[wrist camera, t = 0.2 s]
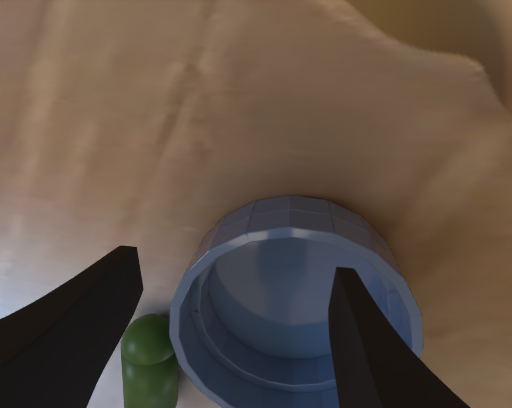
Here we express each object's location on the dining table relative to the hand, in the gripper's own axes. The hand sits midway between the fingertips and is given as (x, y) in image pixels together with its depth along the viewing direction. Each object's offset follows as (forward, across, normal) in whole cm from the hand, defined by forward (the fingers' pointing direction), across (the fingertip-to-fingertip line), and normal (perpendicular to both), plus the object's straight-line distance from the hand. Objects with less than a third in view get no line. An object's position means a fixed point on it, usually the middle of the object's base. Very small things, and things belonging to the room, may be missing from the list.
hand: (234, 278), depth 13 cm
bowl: (+9, -3, +9) cm, 13 cm away
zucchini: (+8, +7, +16) cm, 19 cm away
